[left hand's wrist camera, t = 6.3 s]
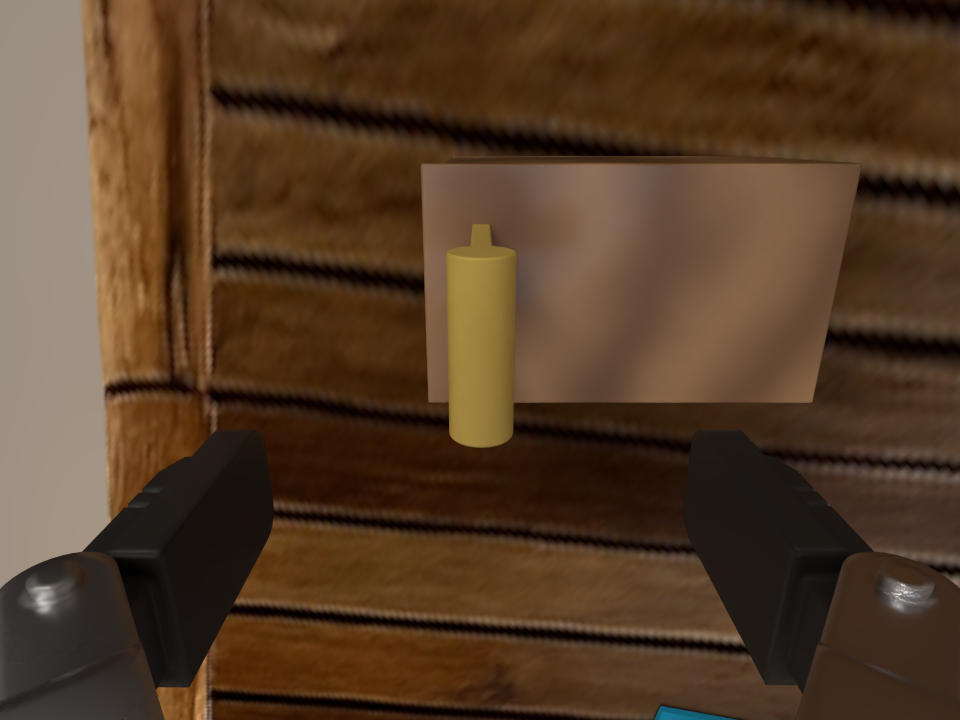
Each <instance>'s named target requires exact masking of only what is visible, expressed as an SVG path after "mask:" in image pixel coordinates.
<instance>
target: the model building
mask: <svg viewBox="0 0 960 720" xmlns="http://www.w3.org/2000/svg"><path fill="white" fill-rule="evenodd" d="M655 720H737V719H731V718H726V717H720V716H715V715H709V714H703V713H698V712H692V711H687V710H681V709H676V708H670V707H664V706H660V709H659V711H658V713H657V715H656V717H655Z"/></svg>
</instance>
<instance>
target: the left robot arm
mask: <svg viewBox="0 0 960 720" xmlns="http://www.w3.org/2000/svg"><path fill="white" fill-rule="evenodd" d="M142 490H143V491H142V493H138V494H137V495H136V496H135V497H134V499H133V500H132V501H131V502H130V503H129V504H128V508H124V509H123V510H122V511H121V512H120V513H119V514H118V515H117V516H116V517H115V518H114V519H113V520H112V521H111V522H110V523H109V524H108V525H107V526H106V528H105V529H104V530H103V531H102V532H101V533H100V534H99V535H98V536H97V537H96V538H95V539H94V540H93V541H92V542H91V543H90V544H89V545H88V546H87V547H86V548H85V549H84V550H83V551H82V552H78V553H71V554H67V555H62V556H59V557H55V558H52V559H49V560H47V561H44V562H41V563H39V564H37V565H35V566H32V567H31V568H29V569H27V570H25V571H23V572H21V573H20V574H18V575H17V576H15V577H14V578H12V579H11V580H10V581H8V582H7V583H6V584H5V585H4V586H3V587H2V588H1V589H0V720H164V716H163V713H162V709H161V706H160V703H159V699H158V696H157V692H156V689H157V687H190V685H191V683H192V681H193V679H194V677H195V675H196V674H197V672H198V670H199V668H200V666H201V664H202V662H203V660H204V659H205V657H206V655H207V653H208V651H209V649H210V647H211V645H212V643H213V642H214V640H215V638H216V636H217V634H218V632H219V630H220V628H221V627H222V625H223V623H224V621H225V619H226V617H227V615H228V613H229V611H230V610H231V608H232V606H233V604H234V602H235V600H236V598H237V596H238V594H239V593H240V591H241V589H242V587H243V585H244V583H245V581H246V579H247V578H248V576H249V574H250V572H251V570H252V568H253V566H254V564H255V562H256V561H257V559H258V557H259V555H260V553H261V551H262V549H263V547H264V546H265V544H266V542H267V540H268V538H269V535H270V532H271V529H272V524H273V515H274V505H273V497H272V490H271V482H270V475H269V468H268V461H267V454H266V446H265V441H264V438H263V435H262V434H261V432H260V431H258V430H219V431H215V432H214V433H213V434H212V435H211V436H210V437H209V438H208V439H207V441H206V442H205V443H204V444H203V445H202V446H201V447H200V448H199V449H198V450H197V452H196V453H195V454H194V455H193V456H192V457H184V458H182V459H181V460H179V461H177V462H175V463H174V464H172V465H170V466H168V467H167V468H165V469H163V470H162V471H160V472H159V473H158V474H157V475H156V476H155V477H154V478H153V479H152V480H151V481H150V482H149V483H148V484H147V485H146V486H145V487H144V488H143V489H142ZM683 515H684V523H685V528H686V532H687V535H688V537H689V539H690V541H691V543H692V545H693V547H694V549H695V551H696V552H697V554H698V556H699V558H700V560H701V562H702V564H703V566H704V568H705V570H706V571H707V573H708V575H709V577H710V579H711V581H712V583H713V585H714V587H715V589H716V591H717V592H718V594H719V596H720V598H721V600H722V602H723V604H724V606H725V608H726V610H727V612H728V613H729V615H730V617H731V619H732V621H733V623H734V625H735V627H736V629H737V631H738V632H739V634H740V636H741V638H742V640H743V642H744V644H745V646H746V648H747V650H748V652H749V653H750V655H751V657H752V659H753V661H754V663H755V665H756V667H757V669H758V671H759V673H760V674H761V676H762V678H763V680H764V682H765V684H766V685H798V687H799V689H800V690H801V692H802V694H803V696H802V699H801V703H800V706H799V709H798V713H797V716H796V720H960V589H959V588H958V587H957V586H956V585H955V584H954V583H953V582H952V581H950V580H949V579H948V578H946V577H945V576H943V575H942V574H940V573H939V572H937V571H935V570H933V569H931V568H930V567H928V566H925V565H923V564H921V563H919V562H916V561H913V560H911V559H908V558H905V557H901V556H898V555H893V554H889V553H882V552H874V551H873V550H872V549H871V548H870V547H869V546H868V545H867V544H866V543H865V542H864V540H863V539H862V538H861V537H860V536H859V535H858V534H857V533H856V532H855V531H854V530H853V529H852V528H851V527H850V526H849V525H848V524H847V523H846V522H845V521H844V520H843V519H842V517H841V516H840V515H839V514H838V513H837V512H836V511H835V510H834V509H833V508H832V507H831V506H827V502H826V501H825V500H824V499H823V498H822V497H821V496H820V494H819V493H818V492H814V491H813V487H812V486H811V485H810V484H809V483H808V482H807V481H806V480H805V479H804V478H803V477H802V476H801V475H800V474H799V473H798V471H796V470H795V469H793V468H791V467H790V466H788V465H786V464H784V463H783V462H781V461H779V460H777V459H776V458H774V457H772V456H764V455H763V454H762V453H761V452H760V450H759V449H758V448H757V447H756V446H755V445H754V444H753V443H752V442H751V440H750V439H749V438H748V437H747V436H746V435H745V434H744V433H743V432H742V431H741V430H697V431H696V432H695V434H694V436H693V439H692V444H691V451H690V458H689V466H688V473H687V480H686V488H685V495H684V503H683Z"/></svg>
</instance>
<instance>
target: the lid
mask: <svg viewBox="0 0 960 720" xmlns="http://www.w3.org/2000/svg"><path fill="white" fill-rule="evenodd" d="M861 167H862V165H861V164H860V163H423V164H421V190H422V221H423V252H424V282H425V313H426V344H427V375H428V401H429V402H430V403H449V431H450V435H451V437H452V439H453V440H455V441H456V442H458V443H460V444H462V445H465V446H470V447H480V448H482V447H493V446H497V445H500V444H503V443H505V442H507V441H508V440H509V439H510V438H511V436H512V434H513V406H514V403H812V401H813V396H814V392H815V387H816V382H817V377H818V372H819V368H820V363H821V358H822V353H823V349H824V344H825V339H826V334H827V329H828V325H829V320H830V315H831V310H832V305H833V301H834V296H835V291H836V286H837V282H838V277H839V272H840V267H841V262H842V258H843V253H844V248H845V243H846V239H847V234H848V229H849V224H850V219H851V215H852V210H853V205H854V200H855V195H856V191H857V186H858V181H859V176H860V172H861Z"/></svg>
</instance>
